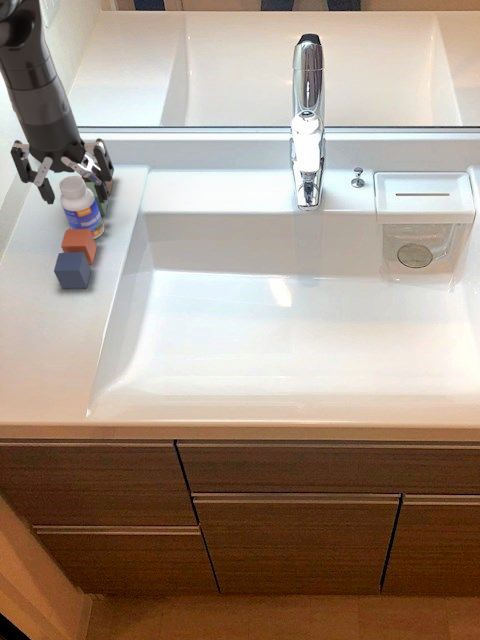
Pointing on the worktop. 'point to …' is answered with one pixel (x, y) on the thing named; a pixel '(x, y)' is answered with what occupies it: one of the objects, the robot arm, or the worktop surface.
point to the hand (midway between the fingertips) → (77, 200)
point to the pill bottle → (80, 206)
